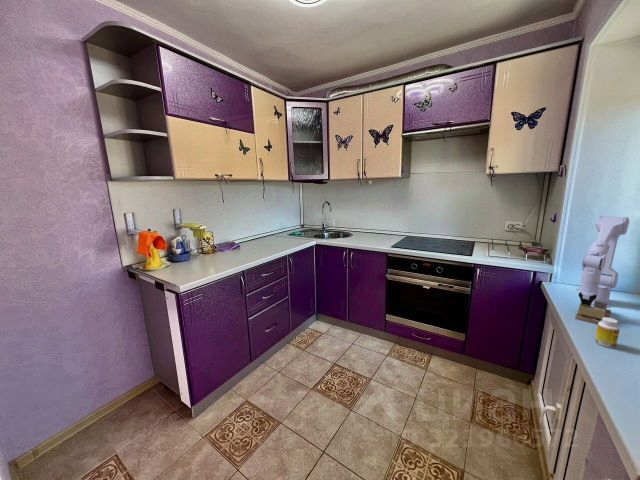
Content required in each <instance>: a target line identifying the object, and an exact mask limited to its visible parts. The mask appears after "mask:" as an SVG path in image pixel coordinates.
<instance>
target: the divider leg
mask: <svg viewBox="0 0 640 480" xmlns="http://www.w3.org/2000/svg"><path fill="white" fill-rule="evenodd" d="M593 306H594V305H586V304H581V302H580V304H579V307H578V310H579V311H577V312H578V313H580V314H584V315H588V316H592V317H596V318H597V319H598V318H600V319H602V318H604V316H605V311H606V310H605V309H601V308H596V307H593Z"/></svg>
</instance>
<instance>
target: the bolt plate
mask: <svg viewBox="0 0 640 480" xmlns="http://www.w3.org/2000/svg"><path fill="white" fill-rule="evenodd" d="M592 306H593V307H594V305H592ZM578 311H579V309H578ZM578 311H577V313H576V315H575V317H574V319H575V320H579V321H581V322H582V321H583V322H587V323H589V324H593V323H594V325H597V326H598V323H599V322H600V318H598V319H597V318H596V317H592V316H588V315H584V314H580V313H578ZM611 313H612V310H611V309H608V308H607V309H606V313H605V317H607V318H611V317H610V316H611Z"/></svg>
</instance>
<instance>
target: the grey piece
mask: <svg viewBox="0 0 640 480" xmlns="http://www.w3.org/2000/svg"><path fill="white" fill-rule="evenodd" d="M607 304H608V302H607V301H603V300H598V299H595V303H594V304H593V306H594V307H596V308H601V309H605V310H606V309H608V307H607ZM605 313H606V311H605ZM604 317H605V316H604ZM601 321H602V319H600V322H601Z"/></svg>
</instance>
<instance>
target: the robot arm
mask: <svg viewBox="0 0 640 480" xmlns="http://www.w3.org/2000/svg"><path fill="white" fill-rule="evenodd" d="M629 224H630V218H629V217H627V216H626V217H624V216H606V215H599V216H598V217H597V218H596V222H595V228H596V230H597V231H598V234H597V235H598V236H597V239H596V241H594V242H592V243H591V246H590V247H589V250H588V252H587V254H585V255H583V257H582V260H581V261H582V262H581V267H582V268H581V271H582V274H581V278H580V286H579V287H576V288H575V290H576V291H579V292H578V297H579V299H580V303H581V304H586V305H590V306H592V305H594V303H595V299H598V300H603V301H607V302H608V304H607V308H609V307H610V303H611V301H610V296H611V291H612V289H614V288H616V287H617V284H618V282H619V273H618V271H616V270H615V269H613V268H612V265H613V262H614V258H615V257H614V256H615V253H616V248H617V244H618V240H619V237H620V236H623V235H626V233H627V232H628V228H629Z"/></svg>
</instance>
